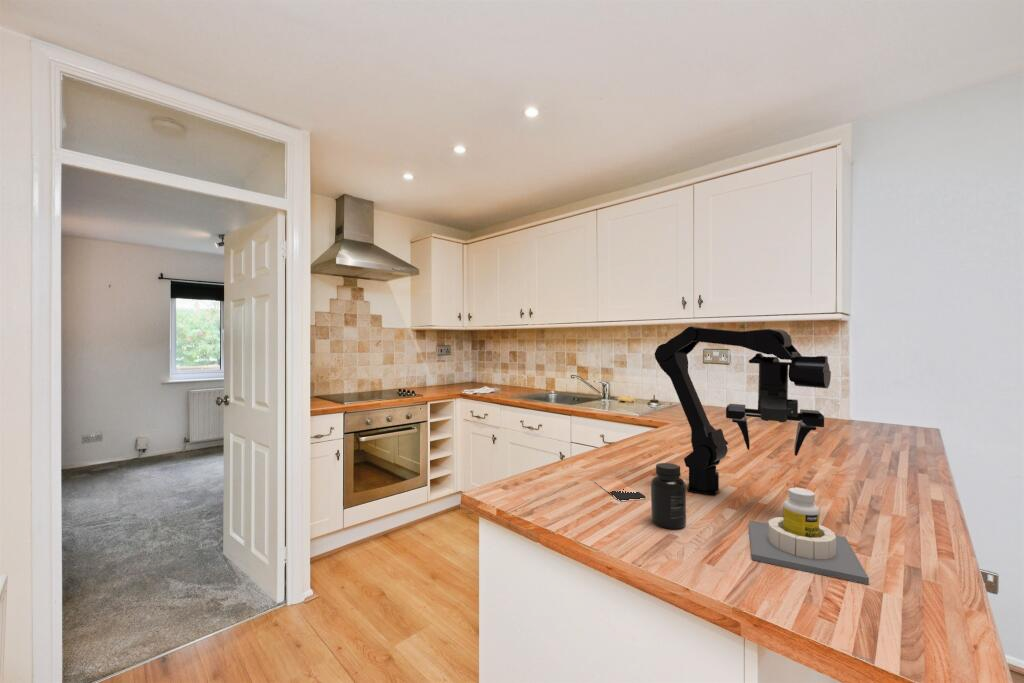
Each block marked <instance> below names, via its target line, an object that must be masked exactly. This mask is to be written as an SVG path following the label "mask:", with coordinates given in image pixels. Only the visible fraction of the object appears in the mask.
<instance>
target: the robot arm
mask: <svg viewBox="0 0 1024 683" xmlns="http://www.w3.org/2000/svg"><path fill="white" fill-rule="evenodd" d="M792 341H793V340H792V338H791V335H790V334H789V333H788V331H786V330H784V329H776V328H767V329H766V328H764V329H763V328H762V329H754V330H742V331H741V330H730V329H721V328H720V329H719V328H707V327H700V326H688V327H686V328H685V329H684V330H683V331H682V332H680V333H679V334H677V335H675V336H673V337H672V338H670V339H669V340H668V341H667V342H665V343H661V344H660V345H658V346H657V347H656V349H655V351H654V358H655V360H656V362H657V365H659V367H660V369H661V370H662V372H664V373H665V374H666V375H667V376H668V378H669V379H670V381H671V383H672V386H673V388H674V391H675V393H676V395H677V397H678V400H679V403H680V405H681V408H682V410H683V412H684V415H685V418H686V420H687V422H688V424H689V427H690V430H691V433H690V435H691V437H690V441H691V447H692V451H691V452H690V453H689V454H687V455H686V456H685V457H684V458H683V461H684V464H685V467H686V468H688V486H687V492H690V493H691V492H692V493H697V494H703V495H710V496H716V495H717V492H719V489H720V486H719V485H720V484H719V483H720V481H719V480H720V476H719V475H720V473H719V472H718V471H717V466H719V464H720V462H721V460H723V459H724V458H725V457H726V456H727V454H728V446H727V445H729V442H728V441H727V440H726V437H725V436H724V432H723V430H722V429H721V428H718V429H715V427H713V425H711V423H710V421H709V419H708V416H707V414H706V411H705V409H704V407H703V405H702V402H701V399H700V398H699V395H698V393H697V390H696V388H695V385H694V383H693V381H692V379H691V377H690V373H689V358H688V355H689V353H691V352H692V351H693V350H694V349H695V348H696V346H697V345H698V344H699V343H706V344H717V345H726V346H736V347H741V348H746V349H748V350H750V351H754V352H757V353H756V354H754V356H753V357H752V358H750V359H749V360H748V363H749V364H756V365H758V383H757V384H758V386H757V387H758V390H757V394H758V396H757V398H758V399H757V408H746V404H740V403H739V404H738V403H729V404H727V405H726V406H725V418H726V419H731V422H732V423H736V424H737V425H738V427H739V429H740V431H741V433H742V437H743V440H744V443H745V447H746V449H747V450H748V451H749V450H750V442H751V441H750V434H749V428H748V420H747V417H751V418H760V420H762V421H765V422H769V421H773V422H779V423H786V422H787V421H796V422H797V426H796V427H797V428H796V434H795V441H794V442H795V443H794V449H793V450H794V456H795V457H797V456H798V455H799V451H800V449H801V447H802V445H803V443H804V440H805V439H806V437H807V435H808V434H809V433H810V432H811V431H816V430H817V428H825V415H823V413H821V412H820V411H819V410H814V409H802V408H801V409H799V401H798V399H791V398H788V397H789V396H788V394H789V390H788V389H789V381H790V382H792V383H793V384H794V386H795V387H804V388H805V387H806V388H815V389H816V388H817V389H829V386H830V384H831V377H832V370H830V364H829V360H828V359H829V358H828V356H827V355H817V356H805V355H802V354H801V353H800V352H799V351H798V349H796V347H795V346H794V345H793V342H792ZM763 354H764V355H772V356H764V355H763ZM780 360H786V361H780ZM788 360H790V362H789V361H788Z"/></svg>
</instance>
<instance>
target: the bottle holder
mask: <svg viewBox="0 0 1024 683" xmlns="http://www.w3.org/2000/svg"><path fill="white" fill-rule="evenodd" d="M748 526H749V538H750V539H749V540H750V542H749V543H750V553H751V560H752V561H756V562H761V563H765V564H771V565H775V566H779V567H783V568H789V569H793V570H799V571H804V572H807V573H813V574H817V575H823V576H827V577H832V578H836V579H840V580H844V581H845V580H846V581H851V582H856V583H860V584H863V585H864V584H865V585H870V577H869V576H868V574H867V572H866V571H865V569H864V567H863V565H862V564H861V561H860V560H859V558H858V556H857V555H856V553H855V552H854V550H853V548H852V546H851V544H850V543H849V540H848V538H846V536H841V535H838V534H835V532H834V531H833V530H832V529H829V528H828V527H826V526H824V525H822V524H820V523H819V538H809V537H804V536H798V535H795V534H792V533H789V532H786V531H785V530H783V517H782V516H781V517H780V516H778V517H777V516H776V517H772V518H771V519H769V520H768V523H767V522H763V521H757V520H750V519H749V521H748Z"/></svg>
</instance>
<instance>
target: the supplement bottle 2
mask: <svg viewBox="0 0 1024 683" xmlns="http://www.w3.org/2000/svg"><path fill="white" fill-rule="evenodd" d="M787 491H788V492H787V495H788V498H789V499H786V500H785V501H784V502H783V515H782V516H783V530H785V531H786V532H789V533H792V534H795V535H798V536H804V537H809V538H819V524H820V509H819V507H818V506H817V505H816V504H814V503H815V502H816V501H815V500H816V494H815V492H813V491H812V490H809V489H806V488H801V487H791V488H788V490H787Z"/></svg>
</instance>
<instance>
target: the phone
mask: <svg viewBox="0 0 1024 683" xmlns="http://www.w3.org/2000/svg"><path fill="white" fill-rule="evenodd" d="M623 490H624V489H623ZM610 493H611V494H612V495H614V496H615V497H616V498H617V499H619V500H629V499H640V498H645V499H646V496H645V494H643V493H641V492H639V491H638V492H636V493H634V492H633V493H632V492H630V493H629V492H627V493H626V491H625V493H624V492H623V491H622V493H621V491H619V492H618V491H617V492H616V491H612V492H610ZM617 499H616V500H617Z"/></svg>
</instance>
